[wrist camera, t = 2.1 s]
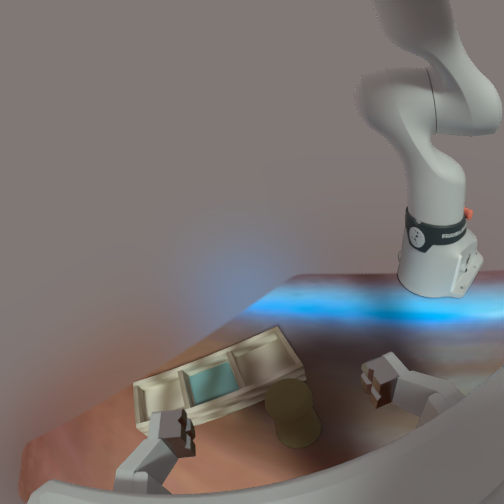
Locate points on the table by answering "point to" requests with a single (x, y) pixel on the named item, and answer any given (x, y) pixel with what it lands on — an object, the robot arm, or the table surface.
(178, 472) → the table surface
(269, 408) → the cork
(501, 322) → the table surface
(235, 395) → the divided tray
